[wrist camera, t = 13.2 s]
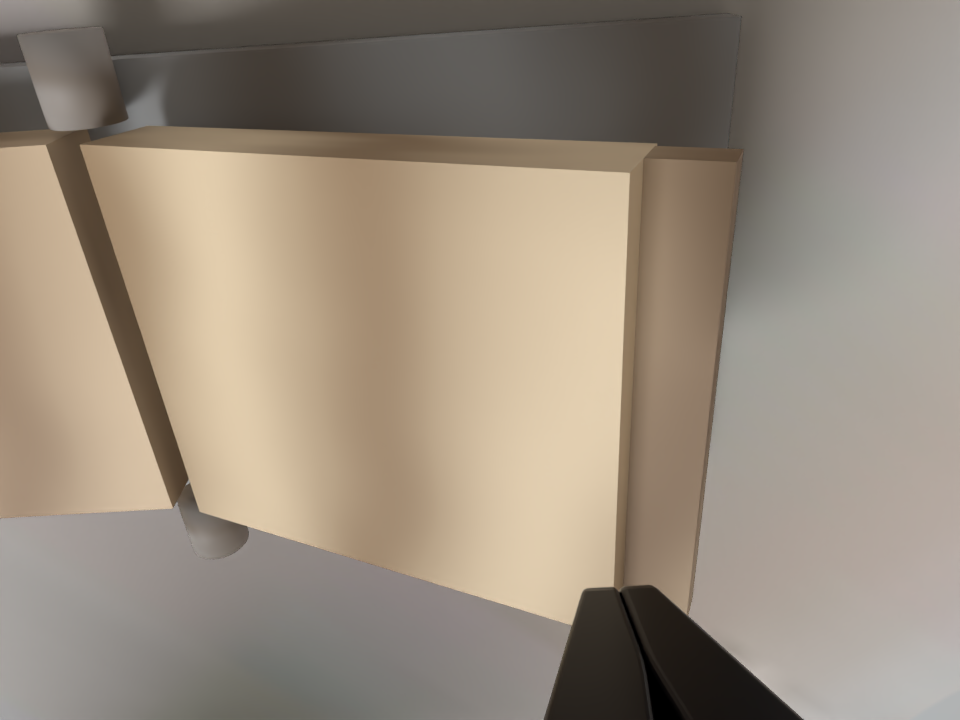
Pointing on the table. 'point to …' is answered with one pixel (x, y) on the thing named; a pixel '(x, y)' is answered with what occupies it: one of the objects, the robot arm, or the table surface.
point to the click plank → (437, 344)
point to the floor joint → (266, 106)
